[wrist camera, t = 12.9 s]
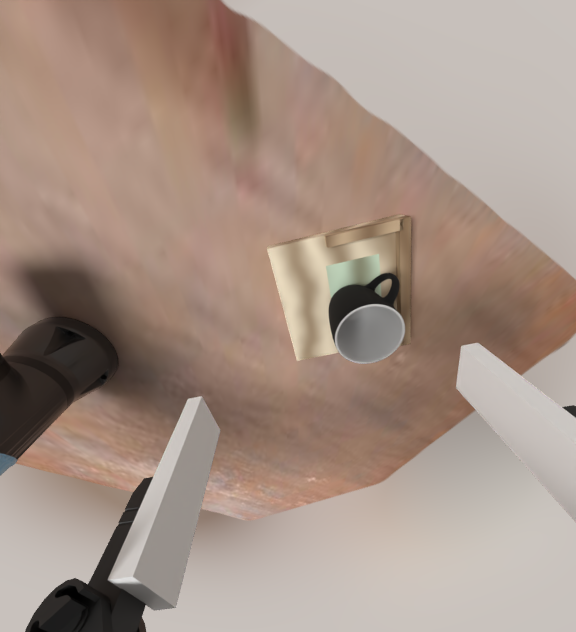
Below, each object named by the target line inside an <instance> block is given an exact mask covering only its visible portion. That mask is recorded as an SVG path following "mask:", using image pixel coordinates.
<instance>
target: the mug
mask: <svg viewBox="0 0 576 632" xmlns="http://www.w3.org/2000/svg"><path fill="white" fill-rule="evenodd" d="M387 279H391V281H392V284H391V288H390V291H389V293H388V294H387V295H386V296H385V297H381V296H380V295H378V294H377V293H376V292H375V289H376V287H377V286H378V285H379V284H380V283H382V282H383V281H385V280H387ZM399 288H400V282H399V279H398V278H397V276H395V275H394V274H392V273H383V274H381V275H379V276H377V277H376V278H375V279H373V280H372V281H371V282H370V283H369V284H367V285H365V286H361V285H348V286H345V287H342V288H341V289H339V290H338V291H337V292H336V293H335V294H334V295H333V296H332V298H331V300H330V303H329V323H330V329H331V333H332V337H333V340H334V343H335V346H336V348H337V350H338V352H339V353H340V354H341V355H342V356H343V357H344V358H345V359H347V360H349V361H351V362H354V363H360V364H368V363H374V362H378V361H380V360H383V359H385V358H387V357H388V356H390V355H391V354H392V353H393V352H394V351H396V349H397V348H398V347H399V346H400V344H401V342H402V340H403V338H404V335H405V323H404V320H403V318H402V316H401V315H400V313H399V312H398V311H397V310H396V309H395V307H394V302H395V299H396V297H397V295H398V292H399Z"/></svg>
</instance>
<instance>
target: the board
mask: <svg viewBox="0 0 576 632" xmlns="http://www.w3.org/2000/svg"><path fill="white" fill-rule="evenodd" d="M267 251H268V254H269V258H270V262H271V266H272V269H273V273H274V277H275V280H276V284H277V288H278V292H279V295H280V299H281V303H282V307H283V310H284V314H285V318H286V322H287V325H288V329H289V333H290V336H291V340H292V344H293V348H294V351H295V355H296V359H297V361H299V360H304V359H309V358H314V357H319V356H324V355H329V354H334V353H339V352H338V350H337V348H336V346H335V343H334V340H333V337H332V333H331V329H330V323H329V303H330V300H331V298H332V296H333V295H334V294H335V293H336V292H337V291H338V290H339V289H341V288H342V287H345V286H348V285H361V286H365V285H367V284H369V283H370V282H371V281H372V280H373V279H375V278H376V277H377V276H379V275H381V274H383V273H392V274H394V275H395V276H397V278H398V279H399V282H400V288H399V292H398V295H397V297H396V299H395V302H394V307H395V309H396V310H397V311H398V312H399V313H400V315H401V316H402V318H403V320H404V323H405V335H404V338H403V340H402V342H401V344H400V346H402V345H407V344H410V328H411V216H406V215H401V214H399V215H395V216H390V217H386V218H382V219H378V220H374V221H370V222H366V223H362V224H358V225H353V226H349V227H345V228H341V229H337V230H333V231H329V232H325V233H321V234H316V235H312V236H308V237H304V238H300V239H296V240H292V241H288V242H284V243H279V244H275V245H271V246H268V247H267ZM391 284H392V281H391V279H387V280H385V281H383V282H382V283H380V284H379V285H378V286H377V287H376V289H375V292H376V293H377V294H378V295H380V296H381V297H385V296H386V295H387V294H388V293H389V291H390V288H391Z"/></svg>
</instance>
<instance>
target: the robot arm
mask: <svg viewBox="0 0 576 632" xmlns="http://www.w3.org/2000/svg"><path fill="white" fill-rule="evenodd" d="M117 367H118V358H117V354H116V352H115V350H114V348H113V346H112V345H111V343H110V342H109V341H108V340H107V339H106V338H105V337H104V336H103V335H102V334H101V333H100V332H98V331H97V330H96V329H94V328H92V327H91V326H89V325H87V324H85V323H82V322H80V321H77V320H73V319H69V318H62V317H52V318H47V319H43V320H41V321H39V322H37V323H35V324H33V325H32V326H30V327H28V328H27V329H25V330H24V331H23V332H22V333H21V334H20V335H19V336H18V338H17V339H16V340H15V341H14V342H13V344H12V345H11V346H10V347H9V348H8V349H7V351H6V352H5V353H4V354H3V355H1V354H0V475H2V474H3V473H4V472H5V471H6V470H7V469H8V468H9V467H11V466H13V465H14V464H15V463H16V462H17V461H18V460H17V459H18V458H19V457H20V456H21V455H22V454H23V453H24V452H25V451H26V450H27V449H28V448H29V447H30V446H31V445H32V444H33V443H34V442H35V441H36V440H37V439H38V438H39V437H40V436H41V435H42V434H43V433H44V432H45V431H46V429H47V428H48V427H49V426H50V425H51V424H52V423H53V422H54V421H55V420H56V419H57V418H58V417H59V416H60V415H61V414H62V413H63V412H64V411H65V410H66V409H67V408H68V407H69V406H70V405H71V404H72V403H73V402H75V401H77V400H78V399H80V398H82V397H84V396H85V395H87V394H89V393H91V392H93V391H94V390H96V389H98V388H100V387H101V386H103V385H104V384H105V383H106V382H107V381H108V380H109V379H110V378H111V377H112V376H113V375H114V373H115V372H116V370H117ZM456 388H457V390H458V391H459V392H460V393H461V394H462V395H463V396H464V397H465V399H466V400H467V401H468V402H469V403H470V404H471V405H472V406H473V407H474V409H475V410H476V411H477V412H478V413H479V414H480V415H481V416H482V418H483V419H484V420H485V421H486V422H487V423H488V424H489V425H490V427H491V428H492V429H493V430H494V431H495V432H496V433H497V434H498V435H499V437H500V438H501V439H502V440H503V441H504V442H505V443H506V444H507V446H508V447H509V448H510V449H511V450H512V451H513V452H514V453H515V455H516V456H517V457H518V458H519V459H520V460H521V461H522V462H523V464H524V465H525V466H526V467H527V468H528V469H529V470H530V471H531V473H532V474H533V475H534V476H535V477H536V478H537V479H538V480H539V481H540V483H541V484H542V485H543V486H544V487H545V488H546V489H547V491H548V492H550V494H551V495H552V496H553V497H554V498H555V499H556V501H557V502H558V503H559V504H560V505H561V506H562V507H563V508H564V510H565V511H566V512H567V513H568V514H569V515H570V516H571V517H572V519H573V520H574V521H575V522H576V406H567V407H561V406H560V405H558V404H557V403H556V402H554V401H553V400H552V399H551V398H549V397H548V396H547V395H545V394H544V393H543V392H541V391H540V390H539V389H538V388H536V387H535V386H533V385H532V384H531V383H530V382H528V381H527V380H526V379H524V378H523V377H522V376H521V375H519V374H518V373H517V372H515V371H514V370H513V369H512V368H510V367H509V366H508V365H506V364H505V363H504V362H502V361H501V360H500V359H499V358H497V357H496V356H495V355H493V354H492V353H491V352H489V351H488V350H487V349H486V348H484V347H483V346H482V345H480V344H479V343H473V344H468V345H463V346H461V352H460V360H459V368H458V375H457V383H456ZM219 434H220V429H219V427H218V425H217V423H216V421H215V419H214V418H213V416H212V414H211V412H210V410H209V408H208V406H207V405H206V403H205V401H204V399H203V397H202V396H200V397H195V398H190V399H188V400H187V402H186V405H185V407H184V409H183V411H182V414H181V416H180V418H179V420H178V423H177V425H176V427H175V429H174V432H173V434H172V436H171V438H170V441H169V443H168V445H167V447H166V450H165V452H164V454H163V456H162V459H161V461H160V463H159V465H158V468H157V470H156V472H155V474H154V477H150V478H144V480H143V481H142V482H141V483H140V485H139V486H138V487H137V489H136V490H135V491H134V492H133V494H132V496H131V498H130V500H129V502H128V504H127V506H126V508H125V512H124V513H123V515H122V517H121V519H120V521H119V525H118V526H117V527H116V529H115V531H114V533H113V535H112V537H111V539H110V541H109V543H108V545H107V547H106V549H105V552H104V554H103V556H102V557H101V560H100V562H99V564H98V566H97V568H96V570H95V572H94V574H93V576H92V578H91V580H90V582H89V583H88V585H87V584H86V583H84V582H82V581H80V580H78V579H76V578H74V579H71V580H67V581H65V582H64V583H63V584H61V585H59V586H58V587H57V588H55V589H54V590H53V591H52V592H51V593H50V594H49V595H48V596H47V597H46V599H44V601H43V602H42V604H41V605H40V606H39V608H38V609H37V610H36V612H35V613H34V615H33V617H32V619H31V620H30V622H29V624H28V626H27V628H26V631H25V632H146V628H145V623H144V621H143V619H142V614H143V611H144V608H145V605H147V606H148V607H150V608H151V609H153V610H161V609H170V608H176V605H177V600H178V597H179V593H180V589H181V585H182V581H183V577H184V573H185V569H186V565H187V561H188V557H189V553H190V549H191V545H192V541H193V537H194V533H195V529H196V525H197V521H198V517H199V513H200V509H201V505H202V502H203V498H204V494H205V490H206V486H207V482H208V478H209V474H210V470H211V466H212V462H213V458H214V454H215V450H216V446H217V442H218V438H219Z"/></svg>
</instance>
